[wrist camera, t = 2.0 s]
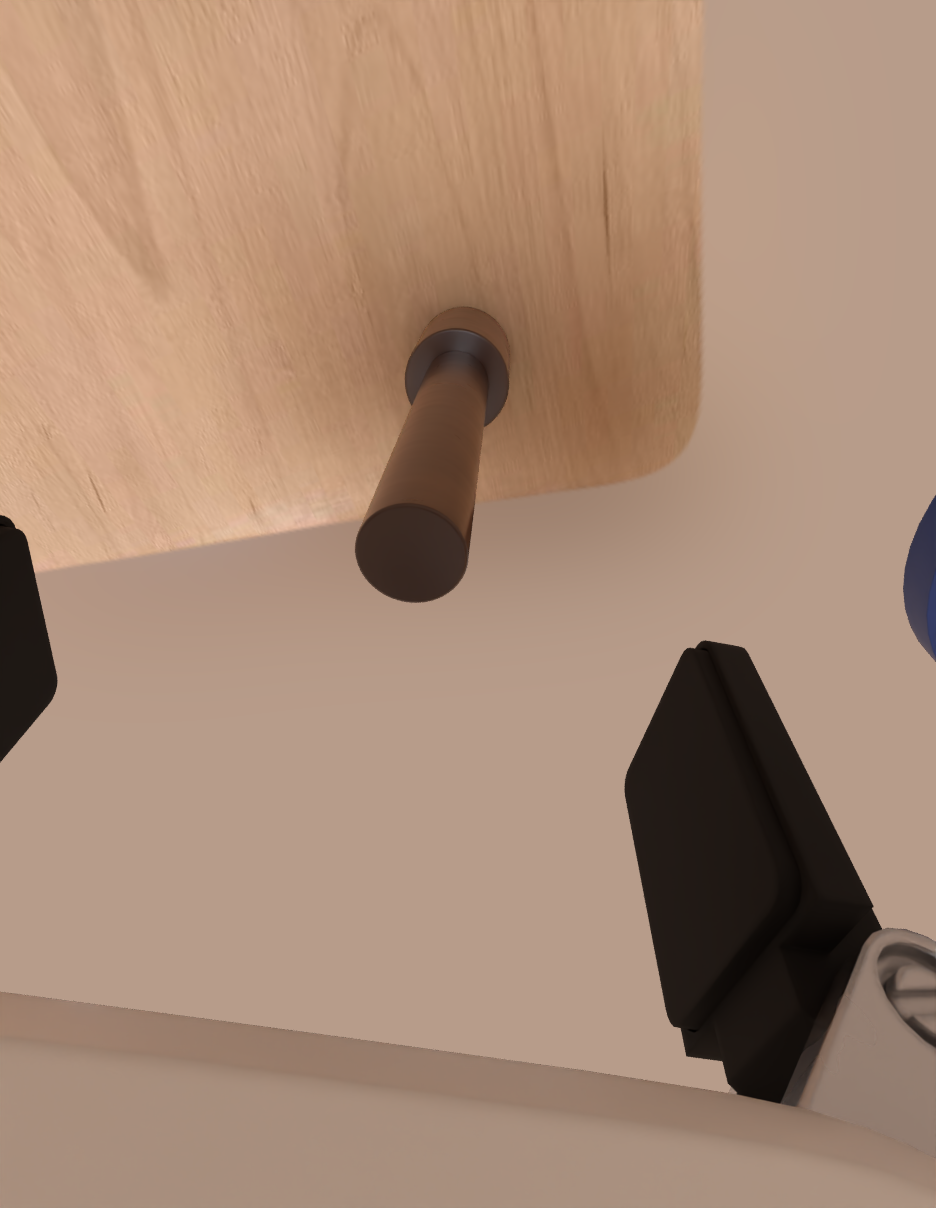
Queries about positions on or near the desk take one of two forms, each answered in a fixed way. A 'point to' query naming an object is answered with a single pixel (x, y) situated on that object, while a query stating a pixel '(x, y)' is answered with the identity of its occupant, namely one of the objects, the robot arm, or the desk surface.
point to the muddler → (436, 459)
